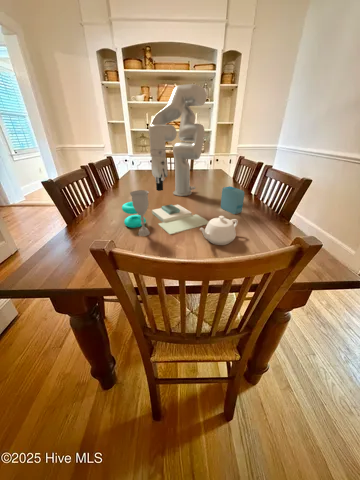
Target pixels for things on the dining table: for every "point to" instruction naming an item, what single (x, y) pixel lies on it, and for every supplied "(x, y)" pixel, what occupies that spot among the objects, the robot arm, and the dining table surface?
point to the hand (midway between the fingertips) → (159, 190)
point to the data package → (232, 200)
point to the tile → (170, 209)
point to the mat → (183, 224)
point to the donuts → (132, 216)
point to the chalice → (141, 208)
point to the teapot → (220, 230)
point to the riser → (166, 217)
